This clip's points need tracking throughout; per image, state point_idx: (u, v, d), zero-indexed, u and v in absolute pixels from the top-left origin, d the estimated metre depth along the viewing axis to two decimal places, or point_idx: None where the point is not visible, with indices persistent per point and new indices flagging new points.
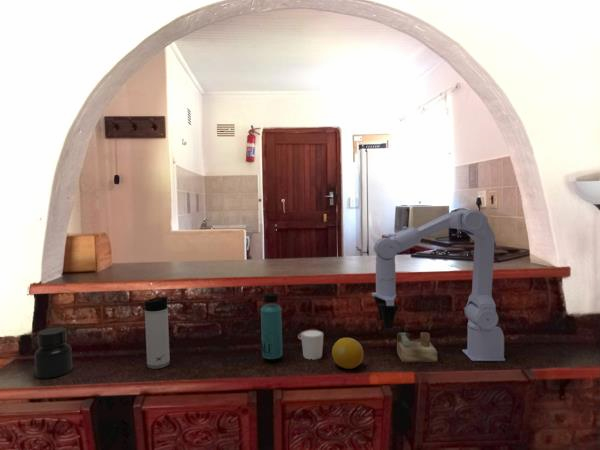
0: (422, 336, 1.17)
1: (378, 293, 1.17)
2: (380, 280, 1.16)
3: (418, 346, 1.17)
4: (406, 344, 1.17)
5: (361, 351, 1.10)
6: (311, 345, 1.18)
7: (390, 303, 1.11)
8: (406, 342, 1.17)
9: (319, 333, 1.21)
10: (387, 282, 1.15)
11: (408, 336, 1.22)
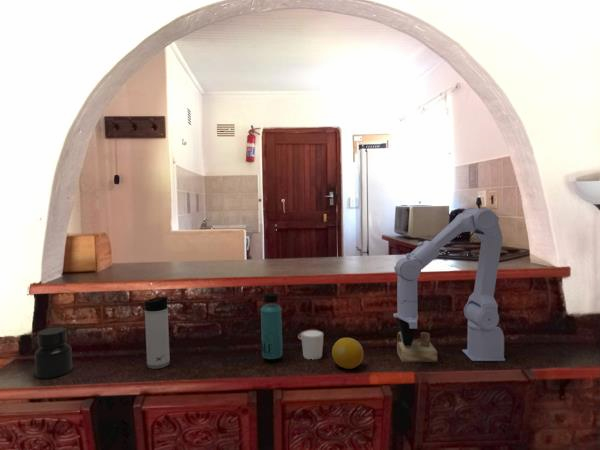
0: (422, 336, 1.17)
1: (400, 314, 1.15)
2: (402, 301, 1.14)
3: (418, 346, 1.17)
4: None
5: (361, 351, 1.10)
6: (311, 345, 1.18)
7: (413, 326, 1.09)
8: None
9: (319, 333, 1.21)
10: (409, 303, 1.13)
11: None
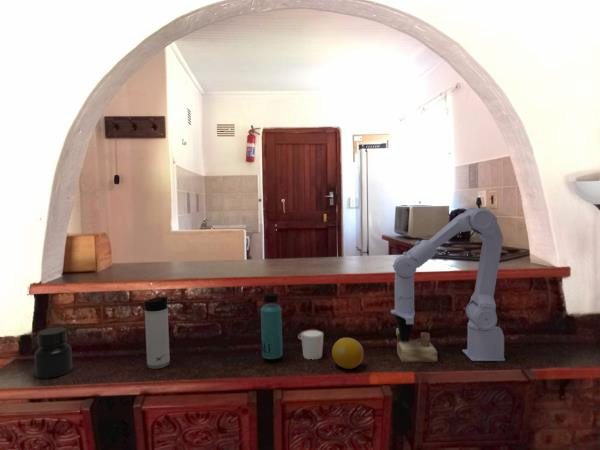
0: (422, 336, 1.17)
1: (397, 311, 1.19)
2: (399, 298, 1.18)
3: (418, 346, 1.17)
4: None
5: (361, 351, 1.10)
6: (311, 345, 1.18)
7: (410, 321, 1.13)
8: None
9: (319, 333, 1.21)
10: (406, 300, 1.17)
11: None
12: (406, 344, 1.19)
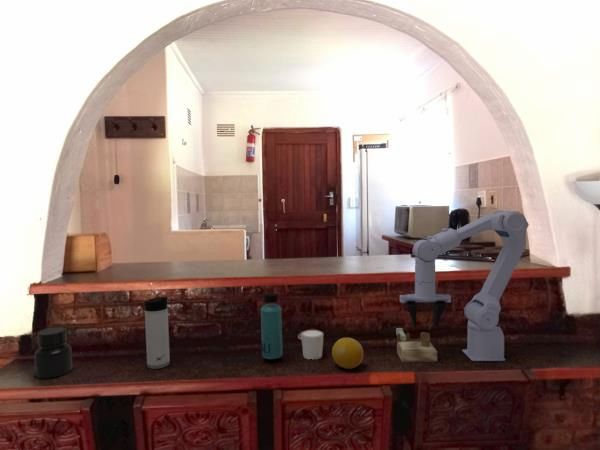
0: (422, 336, 1.17)
1: None
2: None
3: (418, 346, 1.17)
4: (403, 339, 1.22)
5: (361, 351, 1.10)
6: (311, 345, 1.18)
7: (400, 299, 1.18)
8: (403, 337, 1.22)
9: (319, 333, 1.21)
10: (415, 282, 1.17)
11: (408, 336, 1.22)
12: (406, 344, 1.19)
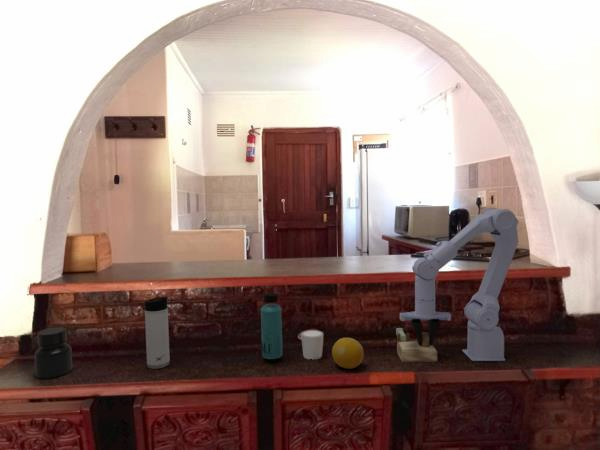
0: (422, 336, 1.17)
1: None
2: None
3: (418, 346, 1.17)
4: (403, 339, 1.22)
5: (361, 351, 1.10)
6: (311, 345, 1.18)
7: (400, 317, 1.18)
8: (403, 337, 1.22)
9: (319, 333, 1.21)
10: (415, 300, 1.17)
11: (408, 336, 1.22)
12: (406, 344, 1.19)
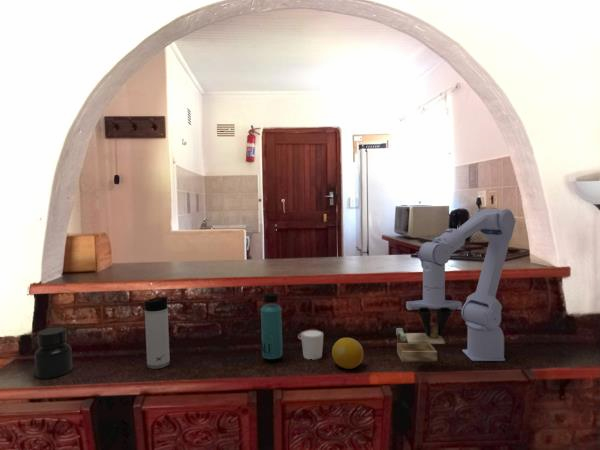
0: (430, 327, 1.09)
1: None
2: None
3: (426, 338, 1.09)
4: (403, 339, 1.22)
5: (361, 351, 1.10)
6: (311, 345, 1.18)
7: (407, 306, 1.09)
8: (403, 337, 1.22)
9: (319, 333, 1.21)
10: (423, 288, 1.09)
11: None
12: (412, 336, 1.11)
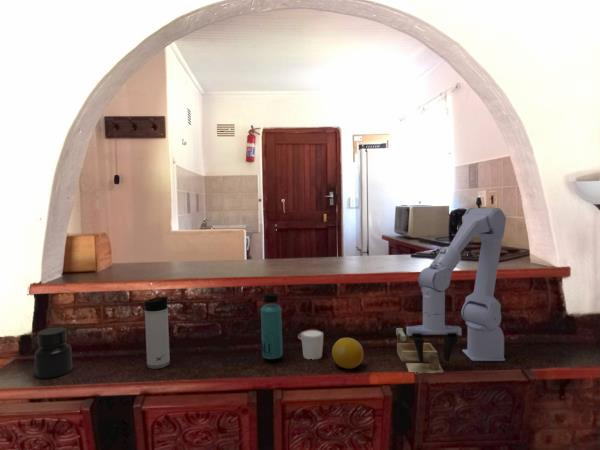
0: (431, 359, 1.09)
1: None
2: None
3: (426, 370, 1.09)
4: (403, 339, 1.22)
5: (361, 351, 1.10)
6: (311, 345, 1.18)
7: (407, 331, 1.10)
8: (403, 337, 1.22)
9: (319, 333, 1.21)
10: (423, 313, 1.09)
11: (408, 336, 1.22)
12: (413, 367, 1.11)
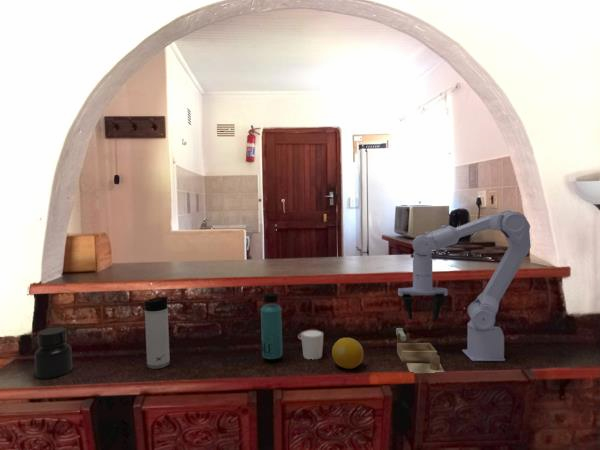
0: (431, 358, 1.09)
1: None
2: None
3: (427, 370, 1.09)
4: (403, 339, 1.22)
5: (361, 351, 1.10)
6: (311, 345, 1.18)
7: (398, 292, 1.22)
8: (403, 337, 1.22)
9: (319, 333, 1.21)
10: (413, 276, 1.21)
11: (408, 336, 1.22)
12: (414, 366, 1.11)
